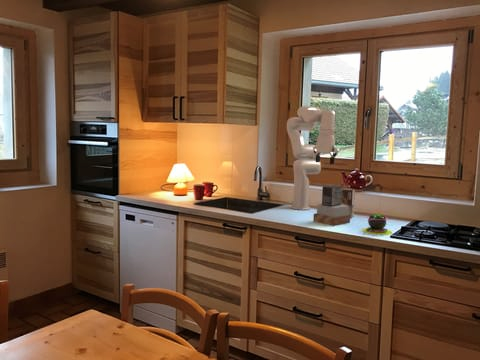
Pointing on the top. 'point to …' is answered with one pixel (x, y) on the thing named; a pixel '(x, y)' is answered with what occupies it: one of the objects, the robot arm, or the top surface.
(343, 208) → the tower top
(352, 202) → the coffee box
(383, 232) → the toy cauldron
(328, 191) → the small box
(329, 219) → the tower base
